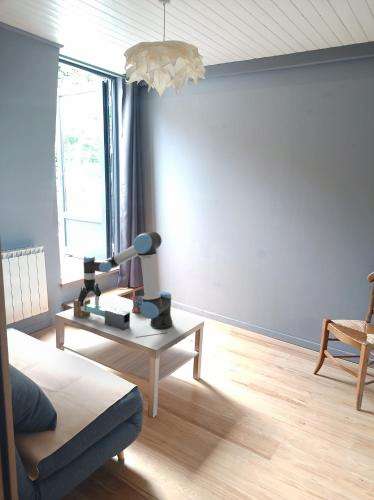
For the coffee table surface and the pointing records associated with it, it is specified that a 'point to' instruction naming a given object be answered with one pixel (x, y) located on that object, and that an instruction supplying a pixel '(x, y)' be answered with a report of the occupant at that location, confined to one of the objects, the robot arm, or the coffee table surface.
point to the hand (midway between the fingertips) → (90, 307)
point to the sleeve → (117, 318)
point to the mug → (137, 303)
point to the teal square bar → (95, 309)
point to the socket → (78, 309)
